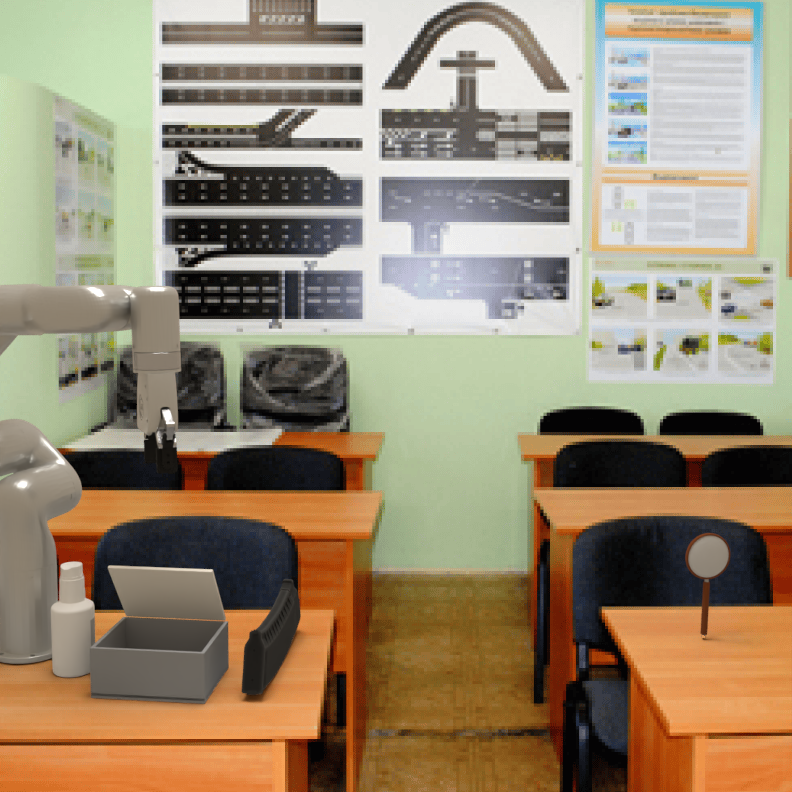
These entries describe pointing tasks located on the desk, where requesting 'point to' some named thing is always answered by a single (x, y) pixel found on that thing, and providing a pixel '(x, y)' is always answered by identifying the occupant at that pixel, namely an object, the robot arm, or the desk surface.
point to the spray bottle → (72, 624)
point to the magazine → (271, 641)
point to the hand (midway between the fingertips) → (160, 467)
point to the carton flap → (168, 592)
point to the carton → (159, 660)
